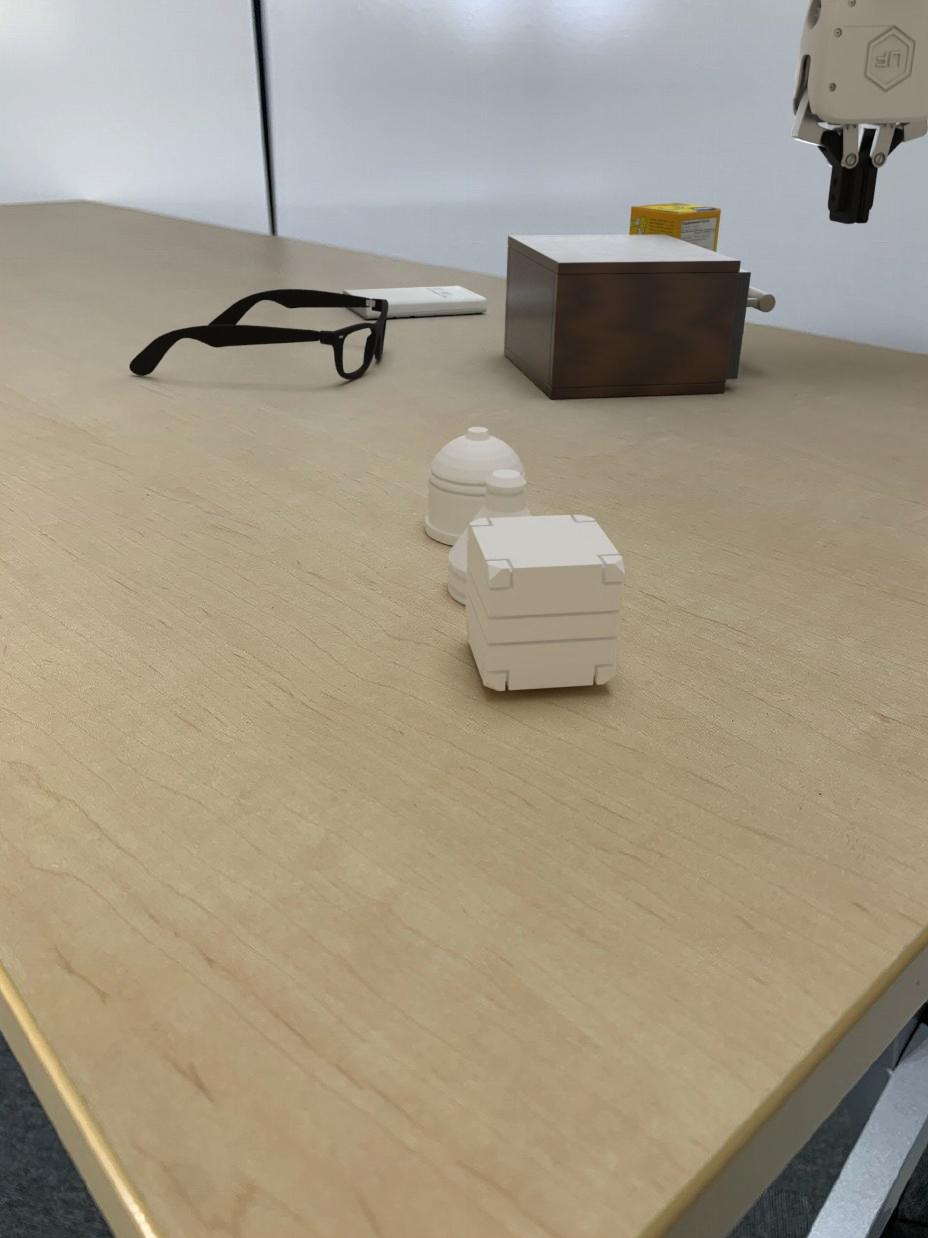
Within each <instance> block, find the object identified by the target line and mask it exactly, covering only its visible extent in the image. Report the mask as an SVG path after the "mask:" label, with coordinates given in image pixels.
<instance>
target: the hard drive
mask: <svg viewBox="0 0 928 1238" xmlns="http://www.w3.org/2000/svg"><path fill="white" fill-rule="evenodd" d="M342 294H347V295H354V296H360V297H366V298H370V299H372V298H374V299H386V300H387V301H388V313H387V319H392V318H393V317H396V318H410V316H415V317H433V316H434V317H435V315H436V316H451V315H452V316H453V315H471V314H483V313H486V312H487V311H488V309H487V307H488V300H487V298H486V297H484V296H482V295H480V294H477V293H476V292H473V291H471V290H469V289H467V288H465V287H462V286H460V285H447V286H444V285H443V286H418V287H417V286H416V287H415V286H414V287H391V288H390V287H389V288H387V287H386V288H365V289H343V291H342ZM350 309H351V310H350ZM350 309H349V310H350V311H352V310H353V311H352V312H354V314H357V315H358V314H359V315H358V316H360V317H361V318H363V319H364V320H371V319H372V320H373V319H378V318H379V316H380V314H381V312H378V311H372V306H371V307H368V308H350Z"/></svg>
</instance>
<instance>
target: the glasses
mask: <svg viewBox="0 0 928 1238" xmlns="http://www.w3.org/2000/svg"><path fill="white" fill-rule="evenodd" d="M263 301H270V302H274V303H276V304H279V305H281V306H283V307H284V308H286V309H291V310H292V309H305V308H307V309H308V308H309V309H310V308H311V309H312V308H313V309H315V308H318V309H320V308H321V309H322V308H323V309H325V308H328V309H331V308H335V309H336V308H340V309H341V308H342V309H343V308H346V309H349V308H368V307H371V306H372V311H378V312H381V314H380V316H379V318H377V320H376V321H375V322H358V323H355V324H351V325H349V326H345V327H342V328H339V329H336V330H323V329H322V330H320V331H319V330H314V329H307V328H305V329H304V328H294V327H293V328H291V327H279V326H267V325H251V324H238V323H239V322H240V320H242V318H243V317H244V316H245V315H246V314H247V313H248V312H249V311H250V310H251V309H252V308H253V307H254V306H256V304H258V303H260V302H263ZM387 313H388V301H387V300H386V299H374V298H372V299H370V298H366V297H360V296H354V295H347V294H343V293H340V292H333V291H325V290H317V289H304V288H280V289H271V290H265V291H259V292H256V293H253V294H250V295H247V296H245V297H243V298H241V299H239V300H237V301H236V302H234V303H232V304H231V305H230V306H229V307H228V308H227V309H225V310H224V311H223V312H221V313H220V314H219V315H217V316H216V317H215V318H214V319H213V320H211V322H209V323H208V324H206V325H197V326H196V325H194V326H188V327H184V328H178V329H175V330H171V331H168V332H166V333H164V334H161V335H160V336H157V337H156V338H155V339H153V340H152V341H151V342H150V343H148V345H147V346H146V347H144V348H143V349H142V350H140V352H139V353H138V354H136V356H135V357H133V358H132V360H131V361H130V363H129V365H128V366H129V371H131V373H133V374H134V375H136V376H140V377H144V376H148V375H150V374H151V373H154V371H155V369H156V368H157V367H158V365H159V364H160V362H161V361H162V360H163V359H164V357H165V355H167V353H168V352H169V351H170V349H171V348H172V347H173V346H174V345H175V344H176V343H177V342H179V341H180V340H183V339H191V340H195V341H198V342H200V343H203V344H205V345H207V346H209V347H212V348H216V349H217V348H225V347H241V346H258V345H260V346H261V345H277V344H279V345H280V344H295V343H296V344H297V343H311V342H319V343H320V344H321V345H326V346H331V347H332V349H333V359H334V365H335V370H336V373H337V374H338V375H339V377H341V378H343V379H344V380H348V381H350V380H351V381H353V380H357V379H359V378H360V377H362V376H363V375H364V374H365V373H366V372H367V371H368V369H369V368H370V365H371V364H372V361H373V359H375V360H377V361H381V360H382V357H383V353H384V346H385V337H386V331H387V330H386V329H387V321H388V318H387ZM366 329H369V330H370V334H369V335H368V336H366V340H365V345H364V350H363V359H362V363H361V366H360V367H359V368H357V369H356V370H354V371H351V372H345V368H344V345H345V340H346V339H347V338H348V336H349V335H351V334H352V333H355V332H358V331H362V330H366Z"/></svg>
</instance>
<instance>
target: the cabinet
mask: <svg viewBox="0 0 928 1238" xmlns="http://www.w3.org/2000/svg"><path fill="white" fill-rule="evenodd" d="M741 264H742V262H741V260H739V259H737V258H735V257H731V256H728V255H726V254H723V253H719V252H717V251H716V252H714V251H711V250H708V249H705V248H703V247H700V246H697V245H694V244H691V243H688V242H685V241H683V240H680V239H677V238H674V237H671V236H668V235H629V234H559V235H558V234H555V235H554V234H550V235H549V234H547V235H545V234H543V235H535V234H534V235H532V234H531V235H529V234H528V235H508V236H507V256H506V285H505V311H504V313H505V314H504V336H503V337H504V338H503V339H504V341H503V345H504V346H503V355H504V356H505V357H506V358H507V359H508V360H509V361H510V362H511V363H513V365H514V366H516V368H518V369H519V370H520V371H521V373H523V374H524V375H525V376H526V377H527V378H528V379H530V381H532V382H533V383H534V385H536V386H537V387H538V388H539V389H540V390H541V391H542V392H543V393H544V394H545V395H546V396H547V397H549V398H550V400H566V399H567V400H568V399H594V398H620V397H622V398H623V397H624V398H625V397H647V396H648V397H649V396H651V397H652V396H677V395H679V396H680V395H704V394H707V395H708V394H725V390H726V382H727V379H726V376H727V368H728V360H729V352H730V344H731V336H732V328H733V320H734V312H735V304H736V296H737V288H738V280H739V271H740V269H741Z"/></svg>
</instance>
